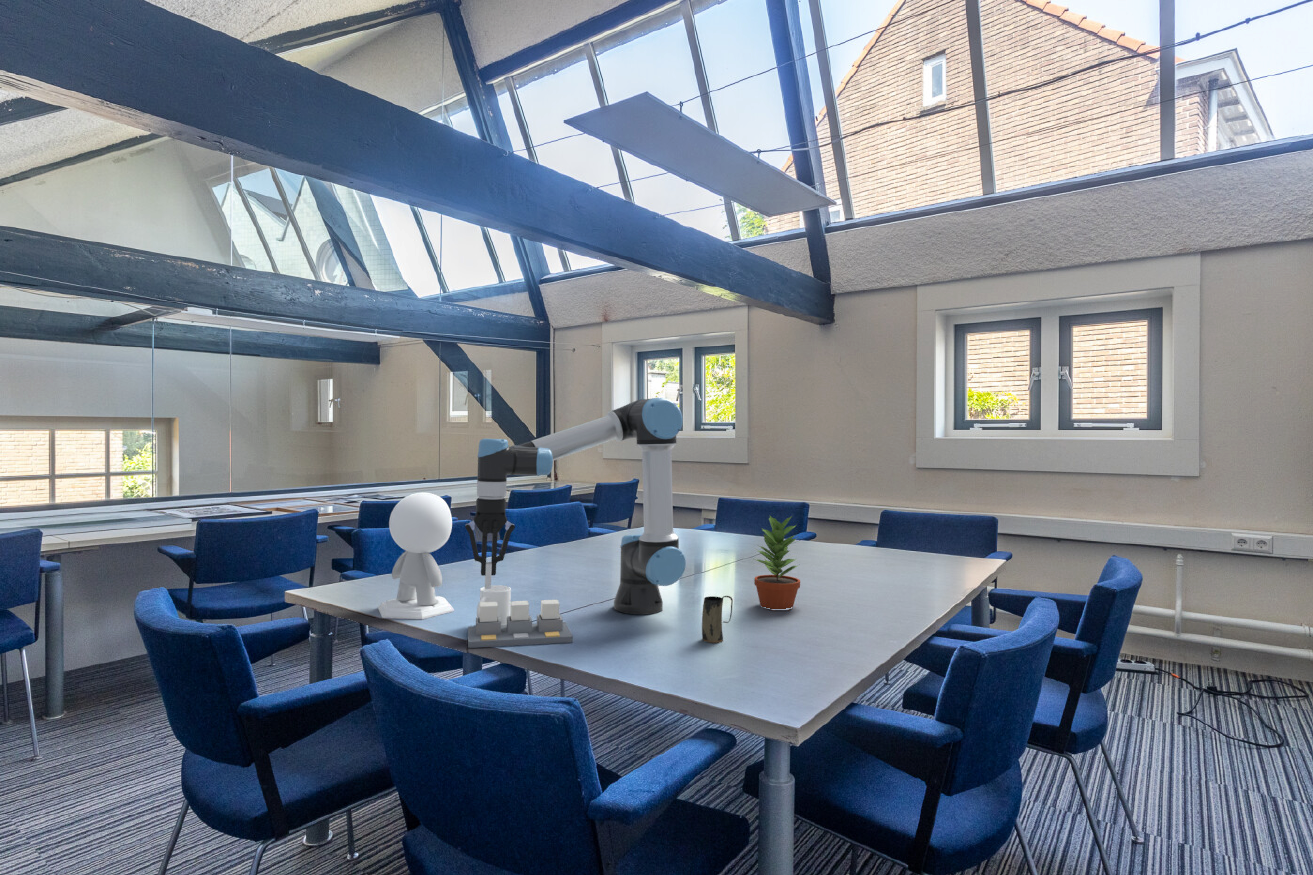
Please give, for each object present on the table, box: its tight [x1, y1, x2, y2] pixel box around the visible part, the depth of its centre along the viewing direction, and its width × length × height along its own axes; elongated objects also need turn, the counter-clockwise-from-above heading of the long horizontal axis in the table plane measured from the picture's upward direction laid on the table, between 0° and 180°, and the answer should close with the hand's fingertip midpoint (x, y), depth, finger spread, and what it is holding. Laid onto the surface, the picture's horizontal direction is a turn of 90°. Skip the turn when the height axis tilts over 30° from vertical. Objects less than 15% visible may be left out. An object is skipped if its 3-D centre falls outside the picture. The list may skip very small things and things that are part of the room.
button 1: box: [540, 599, 560, 619], centre depth 185 cm, size 4×4×4 cm
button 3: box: [479, 602, 498, 622], centre depth 181 cm, size 4×4×4 cm
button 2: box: [510, 600, 530, 621], centre depth 183 cm, size 4×4×4 cm
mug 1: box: [476, 585, 512, 625], centre depth 190 cm, size 12×8×10 cm
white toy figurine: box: [377, 491, 455, 620], centre depth 206 cm, size 20×23×35 cm
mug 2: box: [701, 595, 734, 644], centre depth 183 cm, size 8×6×12 cm
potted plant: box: [753, 514, 801, 609], centre depth 221 cm, size 15×15×30 cm
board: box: [467, 613, 574, 649], centre depth 181 cm, size 26×14×4 cm, turn 105°
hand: (487, 587), depth 180 cm, fingers closed
